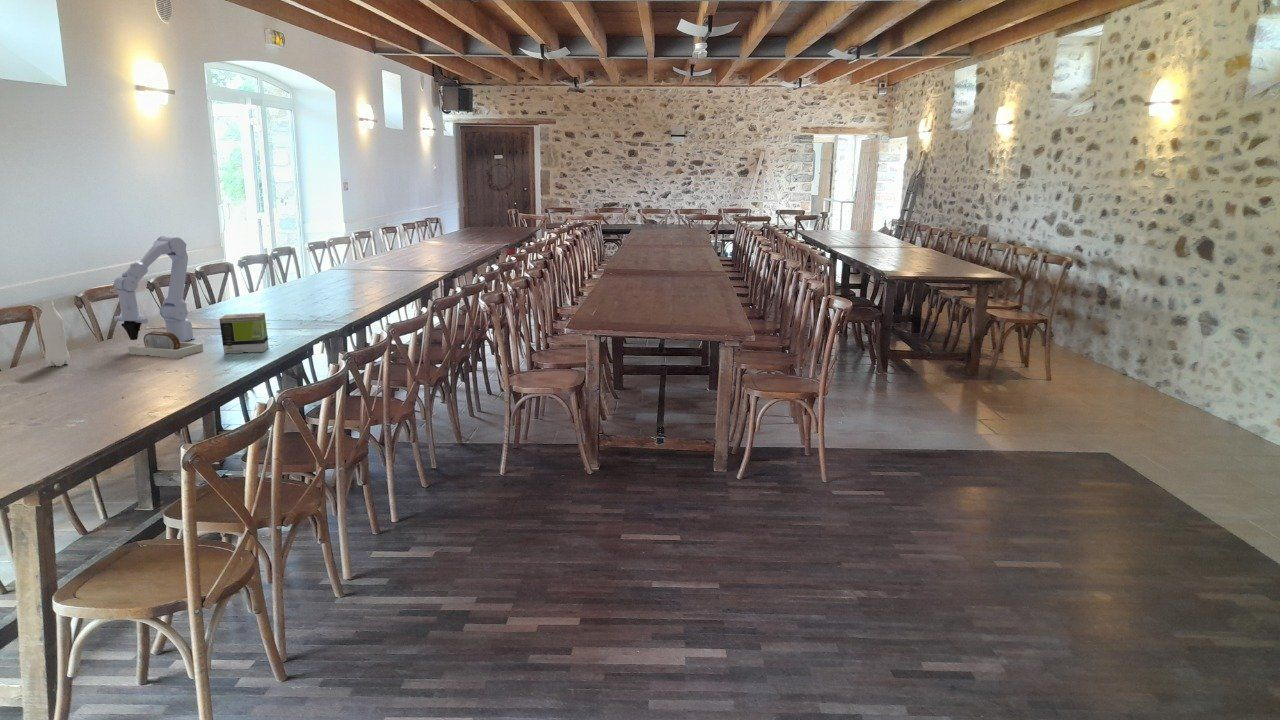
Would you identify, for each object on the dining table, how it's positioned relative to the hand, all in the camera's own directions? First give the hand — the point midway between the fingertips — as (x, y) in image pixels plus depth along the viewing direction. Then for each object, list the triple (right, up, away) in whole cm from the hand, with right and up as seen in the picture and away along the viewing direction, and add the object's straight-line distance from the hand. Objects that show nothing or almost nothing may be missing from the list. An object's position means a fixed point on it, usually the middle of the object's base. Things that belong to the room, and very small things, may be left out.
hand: (134, 339), depth 307 cm
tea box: (+45, -5, +2) cm, 45 cm away
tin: (+14, -6, -3) cm, 15 cm away
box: (+14, -5, -3) cm, 16 cm away
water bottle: (-12, -10, -24) cm, 29 cm away
